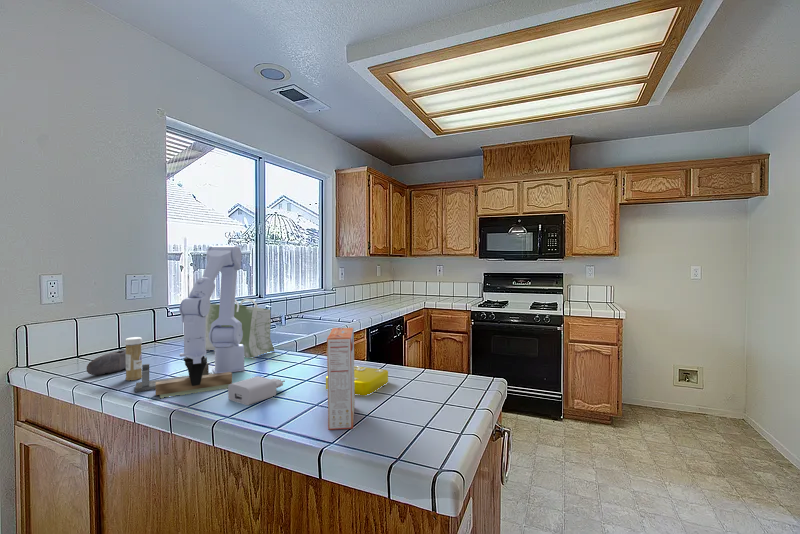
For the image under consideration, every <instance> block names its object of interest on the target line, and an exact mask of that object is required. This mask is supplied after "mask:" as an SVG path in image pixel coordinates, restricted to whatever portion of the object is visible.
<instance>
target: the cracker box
mask: <svg viewBox="0 0 800 534" xmlns="http://www.w3.org/2000/svg"><path fill="white" fill-rule="evenodd" d="M354 333H355V332H354V327H333V328H332V329H331V331H330V332H329V335H328V336H327V338H326V359H327V361H326V367H327V368H326V370H327V371H326V373H327V374H326V375H327V378H328V391H327V414H328V415H327V417H328V419H327V429H328V430H329V431H331V430H332V431H334V430H348V429H349V430H350V429H351V430H352V429H354V420H355V419H354V418H355V404H356V403H355V401H356V400H355V398H356V395H355V388H354V366H355V340H354V337H355V336H354V335H355V334H354Z"/></svg>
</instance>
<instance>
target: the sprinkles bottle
mask: <svg viewBox="0 0 800 534" xmlns="http://www.w3.org/2000/svg"><path fill="white" fill-rule="evenodd" d="M142 343H143V338H142V336H141V337H140V336H133V337H132V336H131V337H128V338H127V337H126V338H125V340H124V344H125V350H126V369H125V380H126V381H129V382H131V381H137V380H140V379H142V365H143V363H142V361H143V359H142V357H143V354H142ZM130 380H131V381H130Z"/></svg>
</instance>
